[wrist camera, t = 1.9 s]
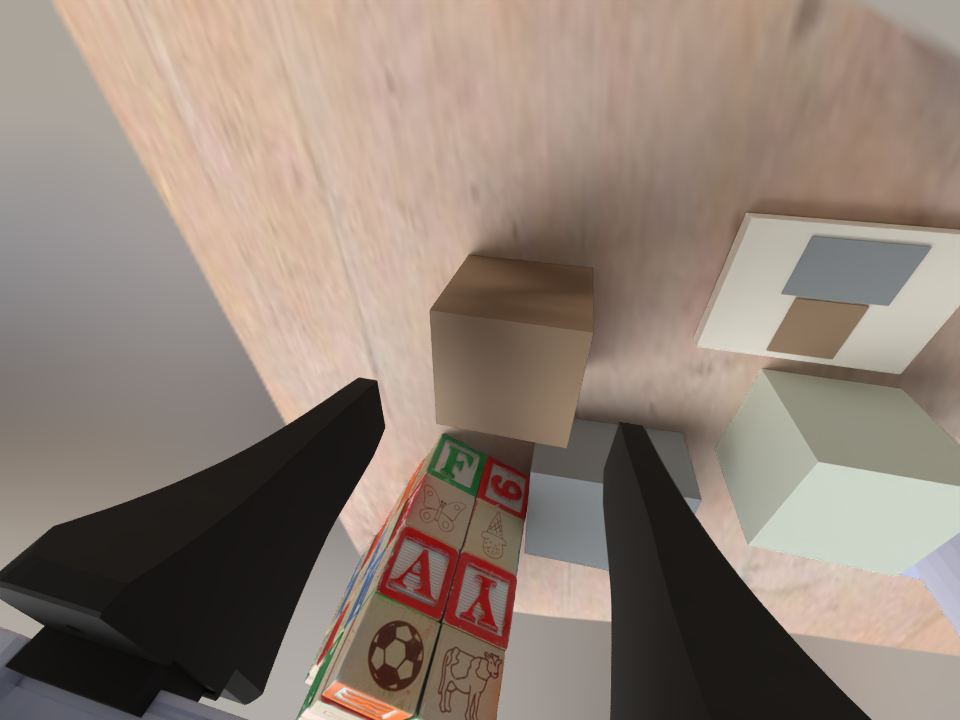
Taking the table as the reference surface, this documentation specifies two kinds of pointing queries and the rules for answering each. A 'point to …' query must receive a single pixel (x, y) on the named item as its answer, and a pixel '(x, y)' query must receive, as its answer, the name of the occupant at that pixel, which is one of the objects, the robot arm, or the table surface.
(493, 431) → the walnut block
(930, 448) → the sage block
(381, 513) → the table surface
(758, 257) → the card
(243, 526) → the robot arm
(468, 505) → the stack of blocks
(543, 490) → the slate block
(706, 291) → the table surface
